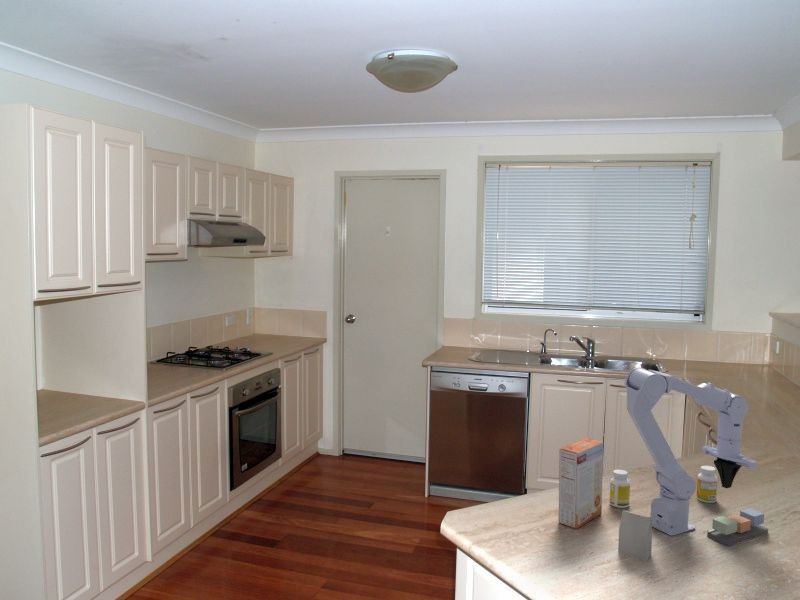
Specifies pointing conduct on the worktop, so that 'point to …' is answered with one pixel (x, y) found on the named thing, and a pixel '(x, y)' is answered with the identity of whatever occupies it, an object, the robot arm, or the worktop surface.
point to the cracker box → (580, 482)
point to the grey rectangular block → (635, 535)
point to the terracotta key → (741, 523)
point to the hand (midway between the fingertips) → (726, 487)
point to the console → (737, 535)
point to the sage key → (724, 525)
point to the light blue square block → (753, 516)
